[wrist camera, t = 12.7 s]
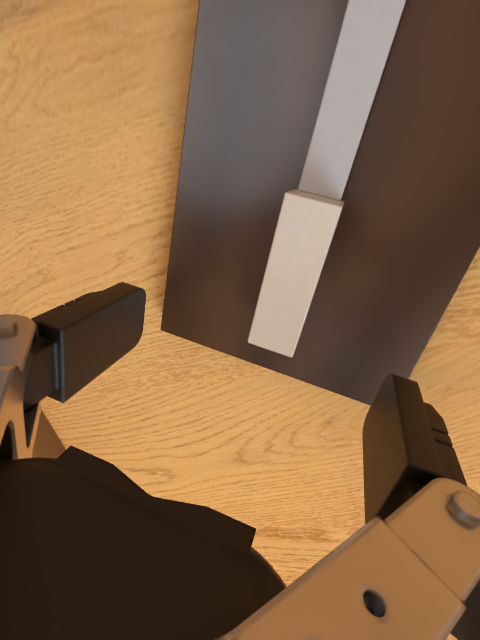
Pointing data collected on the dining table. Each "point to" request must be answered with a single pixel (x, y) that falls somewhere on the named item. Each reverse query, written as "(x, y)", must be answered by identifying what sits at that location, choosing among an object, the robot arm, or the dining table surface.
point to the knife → (323, 175)
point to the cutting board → (359, 194)
